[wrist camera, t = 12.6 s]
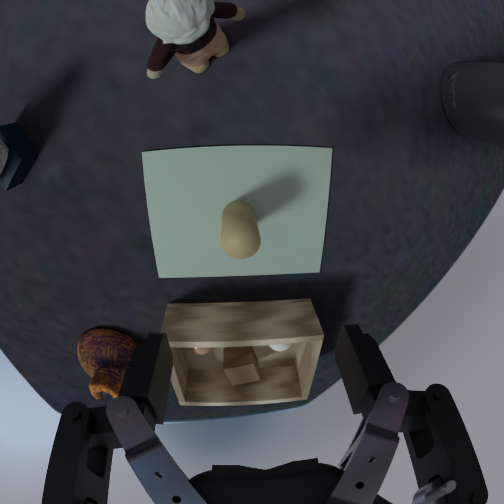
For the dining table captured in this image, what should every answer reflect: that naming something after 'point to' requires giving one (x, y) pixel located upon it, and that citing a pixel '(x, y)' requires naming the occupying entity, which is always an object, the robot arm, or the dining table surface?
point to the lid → (237, 209)
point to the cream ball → (280, 347)
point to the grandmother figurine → (187, 32)
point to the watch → (14, 156)
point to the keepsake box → (238, 335)
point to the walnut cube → (240, 364)
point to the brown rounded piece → (105, 359)
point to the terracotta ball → (202, 350)
